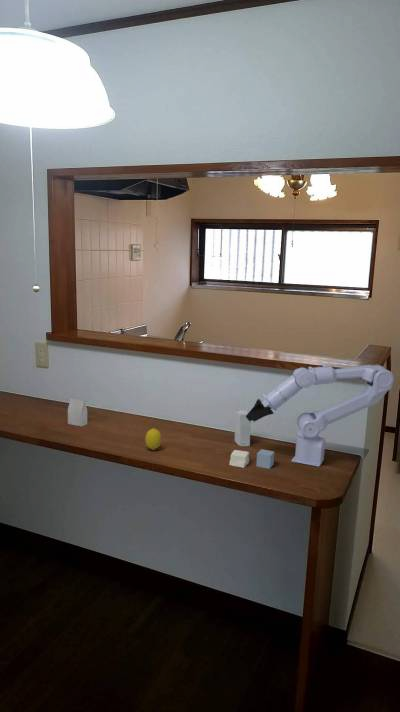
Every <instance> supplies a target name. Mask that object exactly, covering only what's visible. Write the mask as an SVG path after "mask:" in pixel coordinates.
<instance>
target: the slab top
mask: <svg viewBox="0 0 400 712" xmlns="http://www.w3.org/2000/svg"><path fill="white" fill-rule="evenodd" d="M249 455H250V451H245V450H240V449H239V450H238V449H234V450H233V451H232V452H231V454H230V460H229V462H230V461H236V462H243V463H246V461H247V459H248V458H249V459H250V457H249Z"/></svg>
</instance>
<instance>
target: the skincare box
mask: <svg viewBox="0 0 400 712" xmlns="http://www.w3.org/2000/svg"><path fill="white" fill-rule="evenodd" d="M248 413H249V412H248V411H247V410H246V409H239V410H238V409H236V410H235V411H234V442H235V443H236V444H237V445H238V446H239V447H250V445H251V421H249V420H248V419H247V418H246V415H247V414H248Z"/></svg>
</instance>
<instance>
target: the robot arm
mask: <svg viewBox="0 0 400 712" xmlns="http://www.w3.org/2000/svg"><path fill="white" fill-rule="evenodd" d="M394 376H395V375H394V374H393V373H392V371H390V370H388V369H387V368H384V367H383V366H382V365H380V364H365V365H357V366H350V367H343V368H336V369H335V368H333V367H332V366H331V365H330V366H329V365H328V364H323V365H322V366H317V367H312V366H308V368H305V367H299V368H295V370H294V371H293V373H292V374H291V375H290V376H289V377H288V378H286V379H285V380H284V381H283V382H281V383H280V384H279V385H278V386H276V387H275V388H274V389H272V390H271V391H270V392H269V393H267V394H266V393H265V392H264V393H262V396H263V400H261V399H260V398H258V399H257V400H256V402H255V403H254V405H253V407H252V408H251V409H250V411H249V412H248V414H247V415H246V418H247V419H248V420H249V421H250V422H252V421H253V422H256V421H259V420H260V419H262V418H264V417H266V416H270V415H273V414H274V411H275V412H276V411H277V410H278V409H279V408H280V407H281V406H282V405H284V404H285V403H286V402H288V401H289V400H290V399H291V398H293V397H294V396H295V395H297V394H298V393H299V392H300V391H302V390H303V389H304V388H306V389H308V388H310V387H311V386H312V385H313V386H317V385H328V384H333V383H334V382H335V381H337V380H345V379H361V380H362V379H363V380H365V381H366V384H365V388H364V391H362V392H360V393H358V394H355V395H353V396H351V397H349V398H347V399H344V400H342V401H340V402H337V403H335V404H333V405H330V406H328V407H327V408H324V409H321V410H313V411H312V412H303V413H302V412H301V414H299V416H298V417H297V419H296V425H297V427H298V428H299V429H298V431H296V438H295V439H296V440H295V441H296V442H295V454H294V456H293V458H292V459H291V462H292V463H298V464H304V465H309V466H312V467H313V466H315V467H321V465H322V463H323V461H324V458H325V448H326V447H325V446H326V438H324V437H321V436H319V434H320V433H322V432H323V431H325V430H326V429H327V428H328V426H329V425H331V424H333V423H335V422H337V421H339V420H342V419H345V418H346V417H348V416H351V415H354V414H356V413H358V412H360V411H363V410H365V409H367V408H369V407H372V406H374V405H376V404H378V403H379V402H380V401H381V399H382V398H383V397H384V396H385V395H386V394H387V392H388V391H390V390H391V389H392V388H393V386H394V385H393V384H394V381H395V378H394Z"/></svg>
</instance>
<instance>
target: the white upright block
mask: <svg viewBox="0 0 400 712" xmlns="http://www.w3.org/2000/svg"><path fill="white" fill-rule="evenodd" d="M67 424H68V425H73V426H76V427H77V426H79V427H84V426H86V425H88V408H87V403H86V401H85V400H83V399H82V400H81V399H76V398H70V400H69V404H68V407H67Z"/></svg>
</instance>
